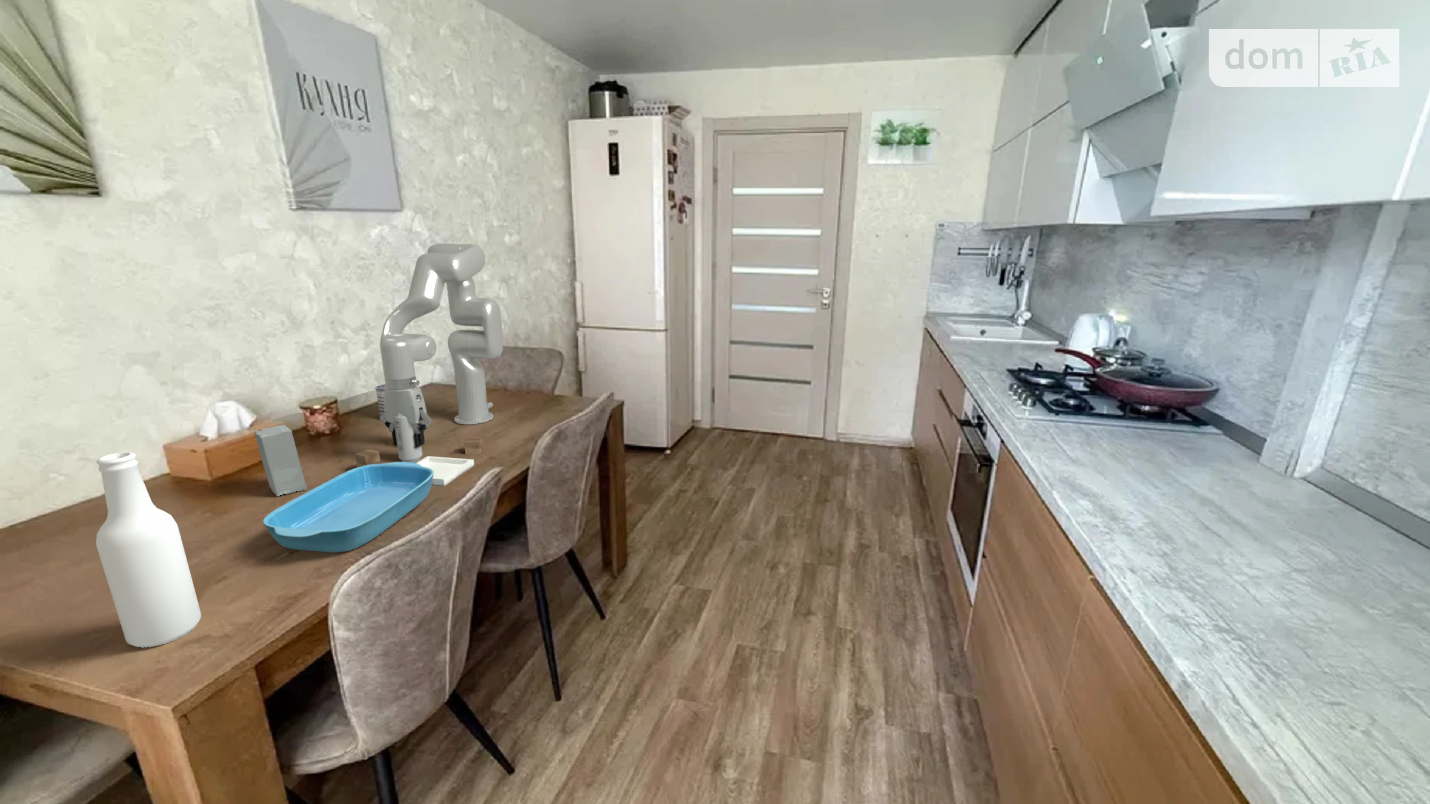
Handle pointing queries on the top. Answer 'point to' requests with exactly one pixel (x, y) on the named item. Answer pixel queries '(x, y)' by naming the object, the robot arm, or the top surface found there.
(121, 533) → the alcohol
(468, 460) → the tray
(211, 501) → the top surface
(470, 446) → the walnut block
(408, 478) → the casserole dish
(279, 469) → the skincare box
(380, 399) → the striped cup
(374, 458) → the walnut block
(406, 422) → the energy drink can
